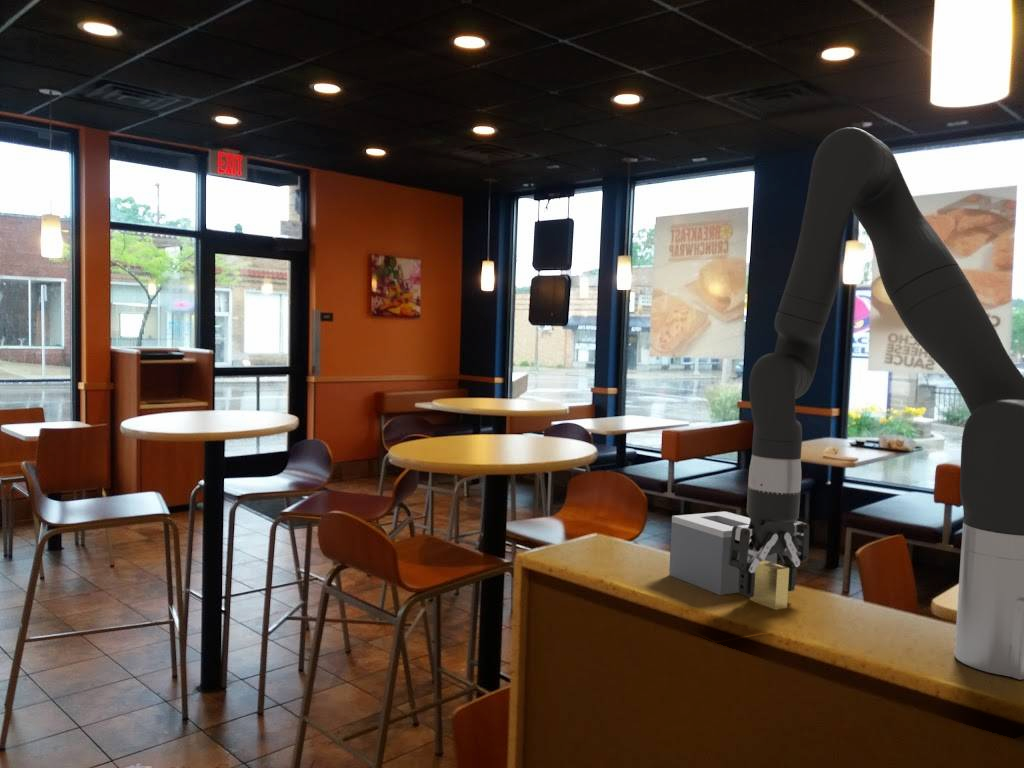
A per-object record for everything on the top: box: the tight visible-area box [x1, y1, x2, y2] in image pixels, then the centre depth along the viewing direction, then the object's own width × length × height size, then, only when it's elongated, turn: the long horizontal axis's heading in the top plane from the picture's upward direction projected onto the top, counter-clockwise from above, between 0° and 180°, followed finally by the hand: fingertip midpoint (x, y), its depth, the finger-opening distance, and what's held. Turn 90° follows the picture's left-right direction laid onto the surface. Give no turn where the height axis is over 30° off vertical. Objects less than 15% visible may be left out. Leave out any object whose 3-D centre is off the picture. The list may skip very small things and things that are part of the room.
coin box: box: [668, 511, 778, 596], centre depth 135 cm, size 12×12×10 cm
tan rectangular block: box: [749, 560, 789, 610], centre depth 123 cm, size 5×2×6 cm, turn 29°
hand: (767, 592), depth 123 cm, fingers open, 8 cm apart
